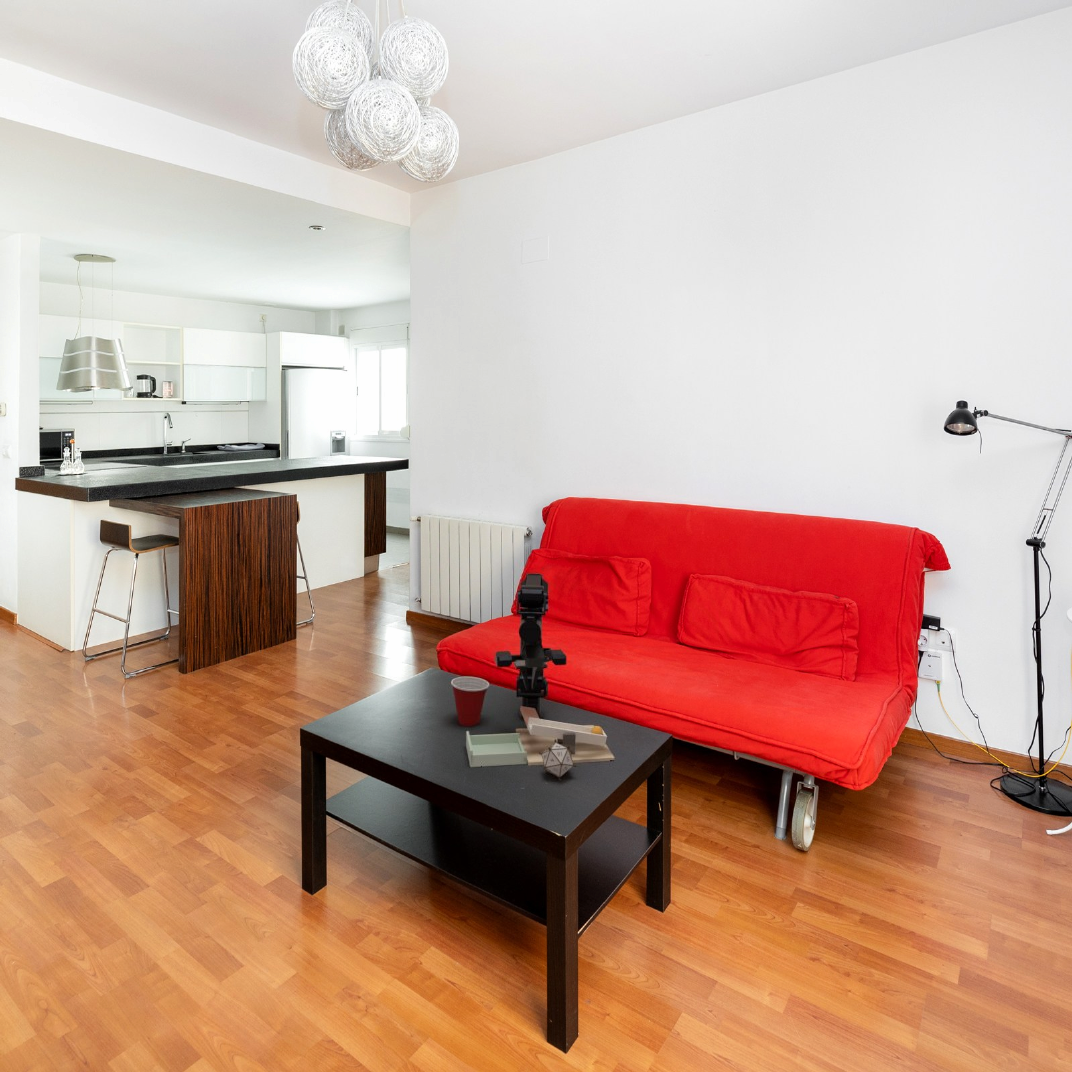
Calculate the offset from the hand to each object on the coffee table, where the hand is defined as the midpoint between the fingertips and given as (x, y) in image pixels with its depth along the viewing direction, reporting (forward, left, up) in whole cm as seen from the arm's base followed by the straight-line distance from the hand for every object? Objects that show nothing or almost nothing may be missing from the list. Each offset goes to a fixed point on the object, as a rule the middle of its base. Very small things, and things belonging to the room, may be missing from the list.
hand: (529, 688), depth 196 cm
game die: (+24, +3, -13) cm, 28 cm away
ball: (+11, +16, -8) cm, 21 cm away
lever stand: (+8, +8, -13) cm, 17 cm away
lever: (+5, +8, -9) cm, 13 cm away
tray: (+11, -10, -13) cm, 20 cm away
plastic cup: (-11, -15, -13) cm, 23 cm away
